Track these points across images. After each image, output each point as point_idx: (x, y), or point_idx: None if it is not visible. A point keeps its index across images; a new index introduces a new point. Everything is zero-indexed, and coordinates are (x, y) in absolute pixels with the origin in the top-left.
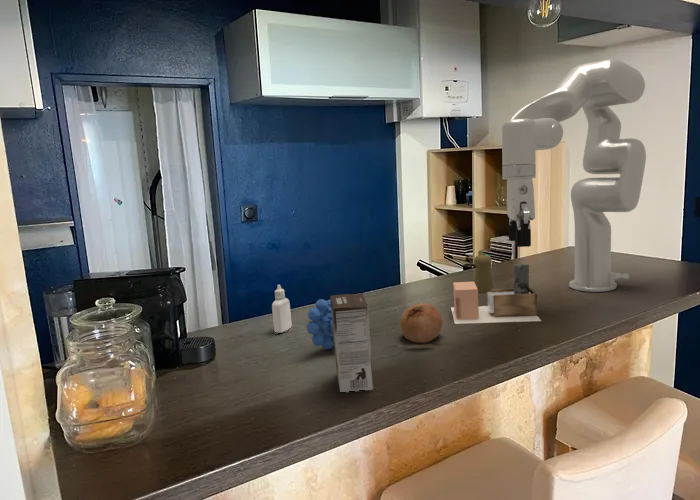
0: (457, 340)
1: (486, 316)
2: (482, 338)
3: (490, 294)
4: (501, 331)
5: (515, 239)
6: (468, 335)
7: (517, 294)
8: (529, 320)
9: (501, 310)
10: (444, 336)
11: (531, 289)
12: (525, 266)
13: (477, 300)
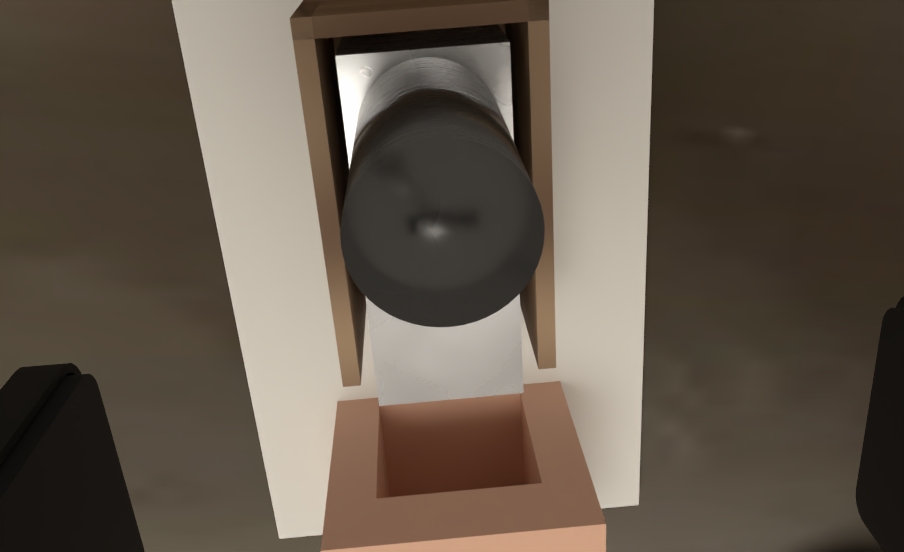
0: (849, 469)
1: None
2: (846, 351)
3: (466, 385)
4: (742, 243)
5: (118, 493)
6: (779, 420)
7: (550, 183)
8: (635, 52)
9: None
10: (772, 528)
11: (364, 28)
12: (533, 189)
13: (585, 466)
